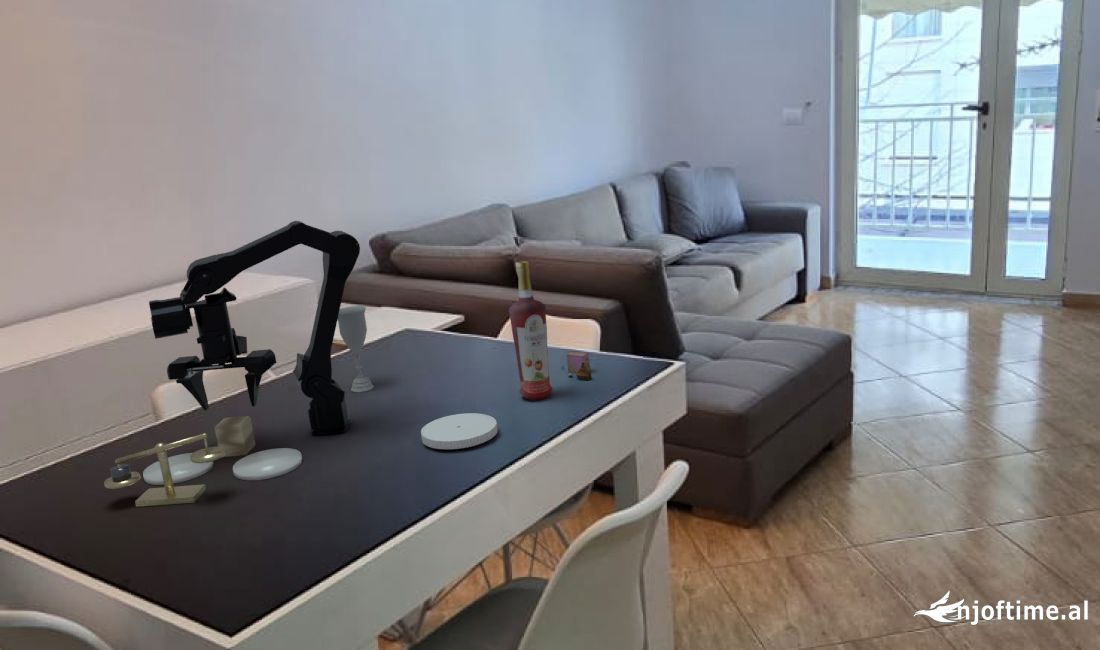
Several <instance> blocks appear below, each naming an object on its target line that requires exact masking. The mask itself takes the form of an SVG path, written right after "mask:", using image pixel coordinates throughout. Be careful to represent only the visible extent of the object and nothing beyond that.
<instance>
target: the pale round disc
mask: <svg viewBox="0 0 1100 650" xmlns="http://www.w3.org/2000/svg"><path fill="white" fill-rule="evenodd" d="M193 453H194V452H186V453H181V454H177V455H172V456H169V457H168V462H169V466H170V471H171V476H172V480H173V485H174V484H180V483H184V482H187V481H191V480H193V479H196V478H198V477H200V476H203V475H204V474H206V473H209V472H210V470H212V468H213V467H214V465H215V463H214V461H211V462H207V463H193V462H191V458H190V456H191V455H192V454H193ZM142 475H143V480H144V482H145V483H147V484H149V485H155V486H164V482H163V477H162V472H161V468H160V463H159V460H158V461H155V462H154V463H152V464H150V465H148V466H147V467H145V469H144V470H143V471H142Z"/></svg>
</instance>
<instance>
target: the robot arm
mask: <svg viewBox="0 0 1100 650" xmlns="http://www.w3.org/2000/svg"><path fill="white" fill-rule="evenodd" d="M298 245H303V246H305V247H308V248H312V249H314V250H317V251H320V252H322V269H323V270H322V271H323V278H322V284H321V287H320V293H319V298H318V302H317V306H316V312H315V315H314V321H313V327H312V330H311V336H310V340H309V344H308V347H307V349H306V351H305V353H304V354H303V353H299V352H298V353H296V364H295V366H294V367H295V368H294V369H293V371H292V373H293V376H294V377H295V382H296V385H298V387H299V389H300V390H301V392H302V393H303V395H304V396H306V397H307V398H310V399H311V401H310V402H309V409H307V413H308V418H309V424H310V425H309V426H310V429H311V430H312V431H311V433H310V434H311V436H321V435H332V434H333V435H334V434H344V433H345V432H346V431H347V429H348V427H349V426H350V425H351V423H352V418H350V419H349V416H348V409H347V408H348V407H347V401H346V396H345V391H344V390H343V388H342V387H341V386H340V385H339V383H338V382H337V381H336V380H335V379H333V378H332V374H333V368H332V355H331V353H332V349H333V348H332V347H333V344H334V337H335V334H336V333H335V332H336V329H337V324H338V315H339V310H340V309H341V305H342V300H343V296H344V290H345V286H346V282H347V280H348V278H349V277H350V276H351V274H352V272H353V270H354V268H355V266H356V263H357V260H358V258H359V256H360V252H361V246H360V243H359V241H358V240H357V238H355V237H354V236H353V235H352V234H349V233H348V232H345V231H343V230H333V231H330V232H329V231H326V230H324V229H321V228H317V227H314V226H311V225H308V224H306V223H304V222H302V221H300V220H293V221H291V222H289V223H288V224H287V225H284V226H283V227H281V228H279V229H276V230H274V231H272V232H270V233H268V234H266V235H264V236H261V237H259V238H257V239H255V240H252V241H251V242H248V243H247V244H244V245H242V246H240V247H238V248H236V249H234V250H231V251H226V252H222V253H217V254H213V255H209V256H206V257H202V258H199V259H195V260H194V261H192V262H191V263H190V264H189V265H188V267H187V270H186V279H187V281H186V283H185V284H184V286H183V288H182V290H181V292H180V293H179V297H178V296H177V297H172V298H167V299H166V298H165V299H153V300H149V301H148V305H149V306H148V307H149V311H150V314H151V315H150V321H151V326H152V330H153V334H154V339H156V340H157V339H158V340H159V339H162V338H163V339H164V338H168V337H173V336H178V335H179V336H180V335H184V334H188V331H189V330H191V328H192V327H194V324H193V318H192V314H191V309H193V311H194V316H195V317H194V318H195V322H196V327H197V332H198V337H197V338H196V342H197V343H196V344H198V345H201V346H200V347H201V351H202V356H203V358H202V359H200V358H199V357H198V356H197V355H190V356H189V355H188V356H179V357H178V358H175V359H174V360H173V361H172V362H170V363H169V364H168V365H167V368H166V373H167V378H168V380H169V381H171V380H175V383H176V384H181V385H182V386H183V387H184V388H185V389H186V390H187V391H188V392H189V393H190V394H191V396H192V397H193V398H194V399H195V400H196V402H197V403H198V404H199V405H200V406H201V408H202V409H203V410H204V411H205V412H206V411H208V410H209V409H210V408H209V401H208V396H207V392H206V388H205V385H204V381H203V380H204V379H203V378H204V371H215V370H226V369H227V370H228V369H239V368H243V369H244V370H245V371H247V373H246V374H245V375H244V378H245V383H246V387H247V393H248V397H249V402H250V404H251V407H256V405H257V401H258V395H259V389H260V385H261V380H262V377H263V375H264V374H265V373H266V372H267V371H269V370H270V369H271V368H272V367H273V366H274V365H275V364H276V363H277V358H276V353H275V352H274V351H273V350H272V349H271V348H269V349H268V348H267V349H257V350H252V351H251V352H250V353H248V338H247V336H243V335H237V333H236V330H235V328H234V327H232V325H231V320H230V314H229V311H228V310H229V309H228V304H227V303H229V302H235V301H237V297H236V295H235V294H234V293H232V292H231V291H229V290H228V289H227V287H224V286H225V285H227V284H229V283H230V282H231V281H232V280H233V279H234V278H236V277H237V276H238V275H239V274H241V273H242V272H243V271H246V270H247V269H250V268H252V267H254V266H256V265H258V264H261V263H262V262H264V261H266V260H269V259H270V258H272V257H275V256H277V255H279V254H282V253H284V252H286V251H288V250H290V249H292V248H294V247H297V246H298ZM221 288H222V290H221V291H220V292H217V291H218V290H220V289H221ZM215 292H217V293H215ZM202 297H204V299H202V300H200V299H201V298H202ZM242 354H243V355H245V354H247V355H246V356H241V355H242ZM238 356H239V357H238Z"/></svg>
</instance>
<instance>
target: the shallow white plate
mask: <svg viewBox="0 0 1100 650" xmlns="http://www.w3.org/2000/svg"><path fill="white" fill-rule="evenodd" d="M302 463H303V456H302V453H301V452H300V450H297V449H295V448H288V447H281V448H271V449H270V448H269V449H266V450H264V449H263V450H261V451H257V452H254V453H250V454H247V455H245V456H244V457H242V458H240V459H239V460H237V461H236V462H235V463H234V464H233V466H232V472H233V476H234V477H235V478H236V479H239V480H241V481H250V482H251V481H261V480H262V481H263V480H264V481H265V480H269V479H273V478H276V477H280V476H281V477H282V476H283V475H286V474H289V473H290V472H292V471H294V470H295V469H297V468H299V466H301V465H302Z"/></svg>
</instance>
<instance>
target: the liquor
mask: <svg viewBox="0 0 1100 650" xmlns="http://www.w3.org/2000/svg"><path fill="white" fill-rule="evenodd" d="M515 271H516V274H517V278H518V301H516V302H514V303H513V304H512V305H511V306H510V307H509V308H508V311H509V312H508V313H509V314H508V315H509V319H510V324H511V325H510V326H511V332H512V338H513V339H512V340H513V343H514V350H515V355H516V361H517V367H518V377H519V382H520V384H519V385H520V389H519V391H518V393H519V395H521V396H522V397H524V399H526V400H528V401H540V400H543V399H546V398H547V397H548V396H550V394H551V392H552V391H553V389H554V388H553V386H552V385H551V382H550V380H551V379H550V367H549V365H550V364H549V353H548V331H547V330H548V327H547V326H548V325H547V316H546V315H547V314H546V313H547V312H546V304H544V303H543V302H541V301H540V300H538V299H534V293H533V288H532V283H531V278H530V275H531V274H530V273H531V268H530V261H528V260H524V261H523V260H522V261H517V262H515Z"/></svg>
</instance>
